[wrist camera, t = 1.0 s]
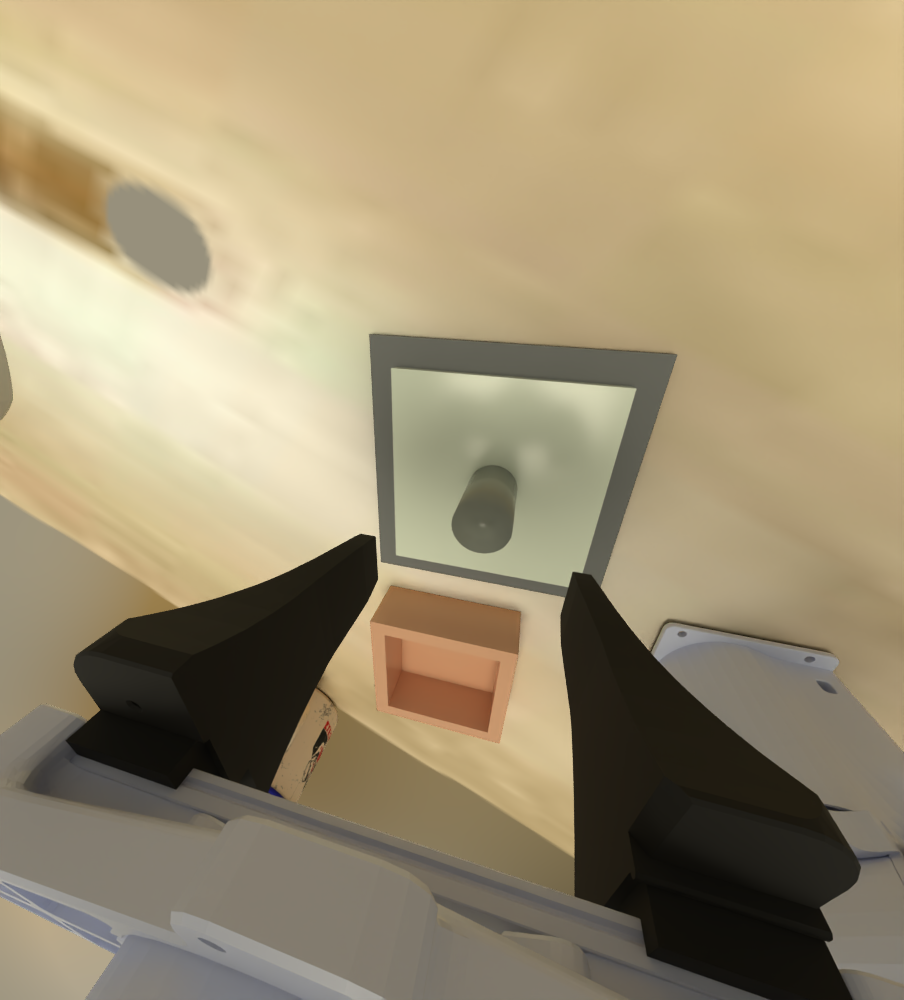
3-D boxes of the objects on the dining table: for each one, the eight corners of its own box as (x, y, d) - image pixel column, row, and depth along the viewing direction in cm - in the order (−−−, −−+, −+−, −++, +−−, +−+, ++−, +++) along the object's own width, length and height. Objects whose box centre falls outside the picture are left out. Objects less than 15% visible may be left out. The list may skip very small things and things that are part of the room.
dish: (520, 609, 24) (518, 654, 21) (503, 694, 29) (499, 743, 26) (392, 583, 26) (370, 621, 23) (394, 667, 31) (376, 710, 27)
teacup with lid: (324, 739, 39) (249, 882, 29) (257, 698, 38) (156, 830, 28) (365, 696, 33) (290, 855, 23) (287, 647, 33) (174, 789, 22)
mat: (674, 354, 15) (677, 354, 15) (594, 598, 22) (595, 602, 22) (372, 334, 18) (369, 334, 18) (383, 558, 25) (381, 561, 25)
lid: (631, 386, 16) (671, 406, 11) (576, 580, 22) (587, 648, 17) (396, 366, 18) (348, 377, 14) (400, 548, 24) (366, 600, 19)
